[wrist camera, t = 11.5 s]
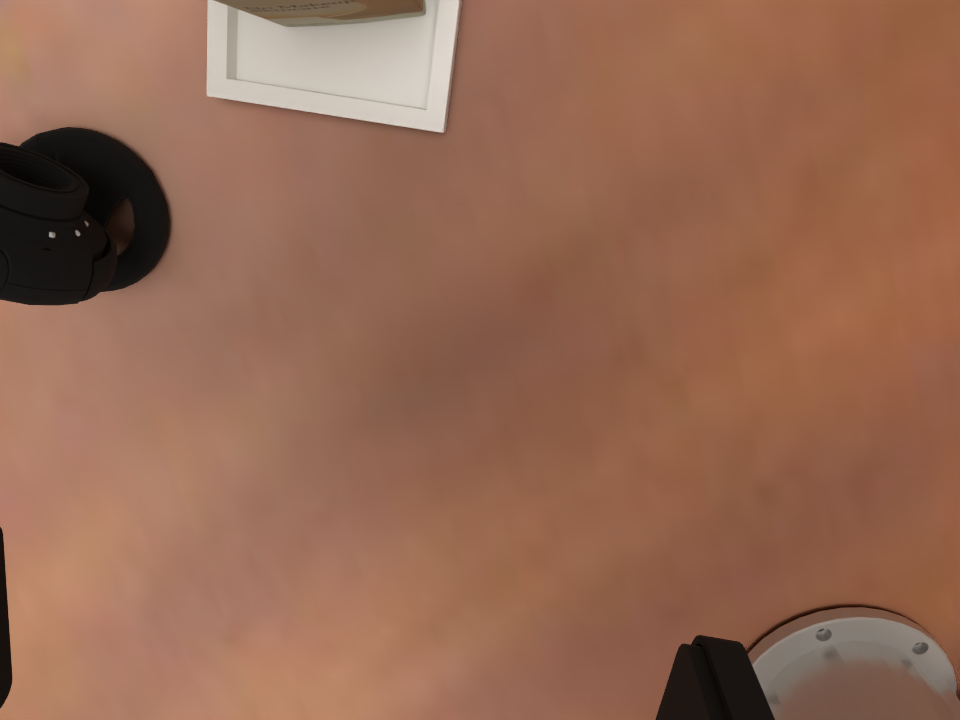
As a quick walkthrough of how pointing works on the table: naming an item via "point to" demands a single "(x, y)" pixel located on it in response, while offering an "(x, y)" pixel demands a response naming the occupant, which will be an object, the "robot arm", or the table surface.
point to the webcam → (74, 217)
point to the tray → (339, 65)
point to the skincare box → (328, 10)
